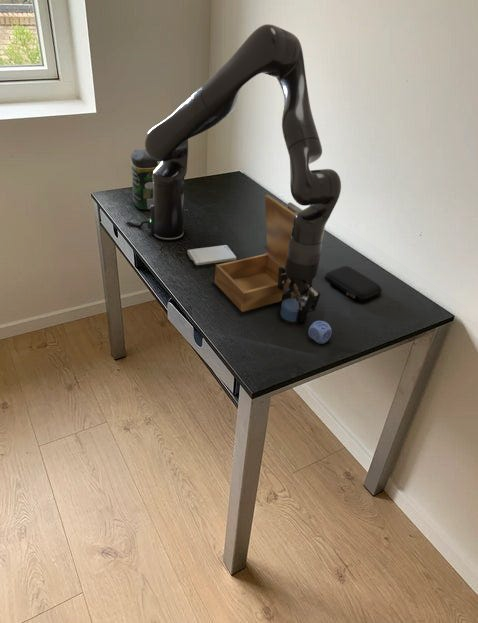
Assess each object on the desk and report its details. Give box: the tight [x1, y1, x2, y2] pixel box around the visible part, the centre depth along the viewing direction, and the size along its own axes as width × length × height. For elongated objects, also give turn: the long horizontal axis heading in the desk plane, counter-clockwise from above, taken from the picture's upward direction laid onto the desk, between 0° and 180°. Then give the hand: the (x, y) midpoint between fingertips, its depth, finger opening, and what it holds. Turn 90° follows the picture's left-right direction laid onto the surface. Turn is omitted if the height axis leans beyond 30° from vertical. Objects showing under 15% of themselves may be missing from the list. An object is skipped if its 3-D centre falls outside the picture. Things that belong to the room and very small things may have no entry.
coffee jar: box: [130, 148, 159, 211], centre depth 162 cm, size 10×8×19 cm
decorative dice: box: [307, 320, 333, 345], centre depth 114 cm, size 4×4×4 cm
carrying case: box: [325, 265, 383, 302], centre depth 134 cm, size 11×3×15 cm
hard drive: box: [186, 244, 238, 266], centre depth 142 cm, size 2×8×12 cm
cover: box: [264, 194, 303, 266], centre depth 124 cm, size 17×15×5 cm
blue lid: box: [279, 297, 305, 323], centre depth 120 cm, size 6×6×4 cm
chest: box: [214, 253, 296, 313], centre depth 128 cm, size 17×15×6 cm
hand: (292, 313), depth 121 cm, fingers closed on blue lid, 6 cm apart
